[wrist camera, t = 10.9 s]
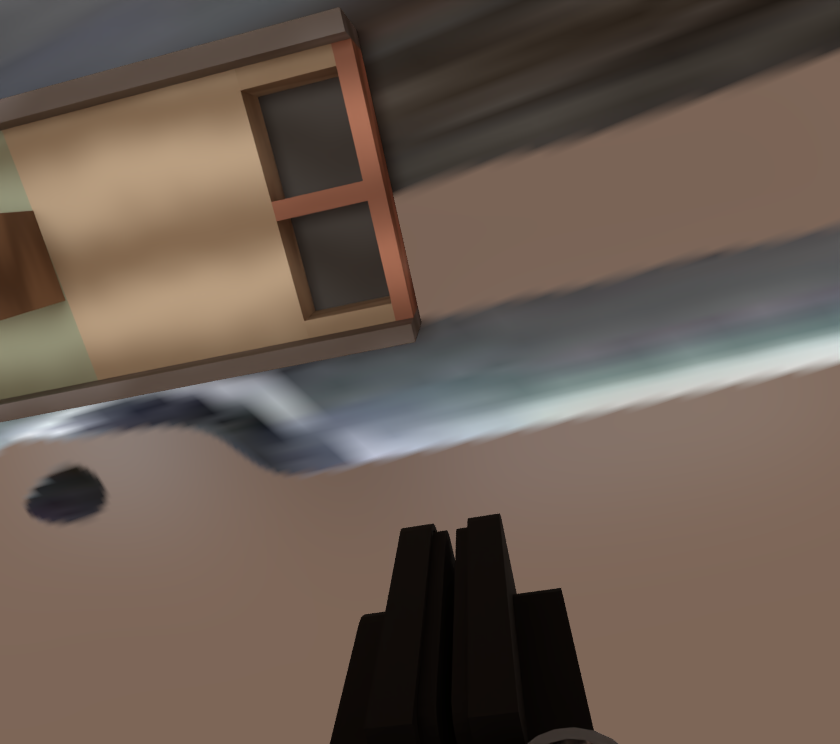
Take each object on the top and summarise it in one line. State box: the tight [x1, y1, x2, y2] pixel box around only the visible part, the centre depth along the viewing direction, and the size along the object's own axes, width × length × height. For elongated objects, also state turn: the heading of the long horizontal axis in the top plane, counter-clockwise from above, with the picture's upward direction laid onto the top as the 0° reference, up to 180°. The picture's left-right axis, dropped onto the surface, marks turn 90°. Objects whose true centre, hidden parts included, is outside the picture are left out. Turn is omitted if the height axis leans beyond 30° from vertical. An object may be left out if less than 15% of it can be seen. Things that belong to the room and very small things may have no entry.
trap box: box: [0, 7, 421, 422], centre depth 34 cm, size 16×28×4 cm, turn 102°
